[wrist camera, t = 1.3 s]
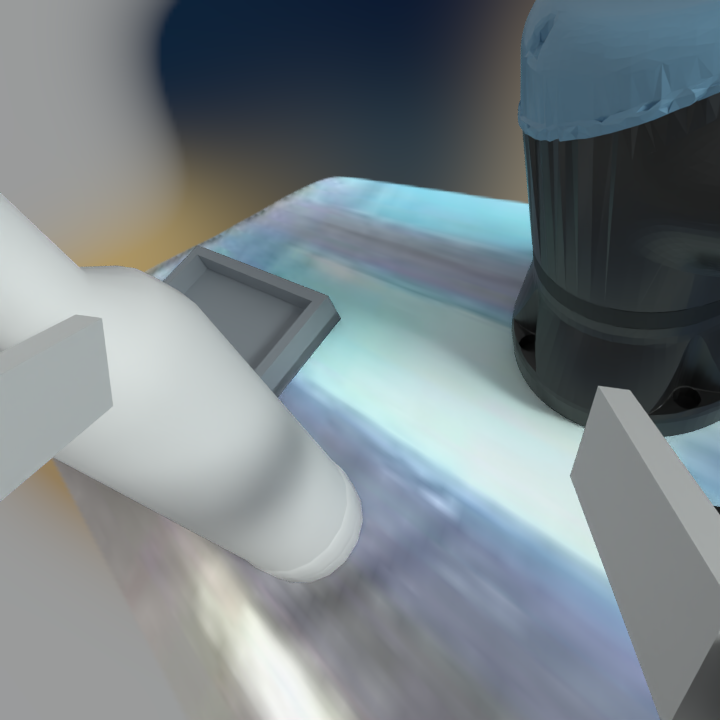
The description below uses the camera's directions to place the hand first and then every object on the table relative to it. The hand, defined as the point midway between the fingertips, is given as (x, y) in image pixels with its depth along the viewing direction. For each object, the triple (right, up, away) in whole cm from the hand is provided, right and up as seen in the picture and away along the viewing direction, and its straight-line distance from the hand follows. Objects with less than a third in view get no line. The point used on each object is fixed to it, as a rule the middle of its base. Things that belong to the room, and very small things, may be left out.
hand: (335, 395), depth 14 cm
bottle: (-3, -10, +21) cm, 24 cm away
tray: (-13, +1, +33) cm, 36 cm away
